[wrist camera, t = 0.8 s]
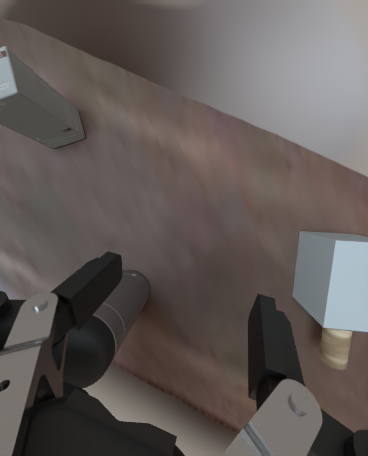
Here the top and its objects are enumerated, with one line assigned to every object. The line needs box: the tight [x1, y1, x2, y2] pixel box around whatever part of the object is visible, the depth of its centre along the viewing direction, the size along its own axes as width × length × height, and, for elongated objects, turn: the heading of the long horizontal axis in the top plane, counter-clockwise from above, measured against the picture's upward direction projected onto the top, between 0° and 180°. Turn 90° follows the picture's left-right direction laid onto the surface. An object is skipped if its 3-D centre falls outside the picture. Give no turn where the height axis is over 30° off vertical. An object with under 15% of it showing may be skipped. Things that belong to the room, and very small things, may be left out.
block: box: [292, 231, 368, 333], centre depth 34 cm, size 15×10×10 cm
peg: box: [319, 328, 352, 370], centre depth 34 cm, size 12×4×4 cm, turn 177°
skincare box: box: [0, 46, 85, 148], centre depth 33 cm, size 8×7×16 cm
